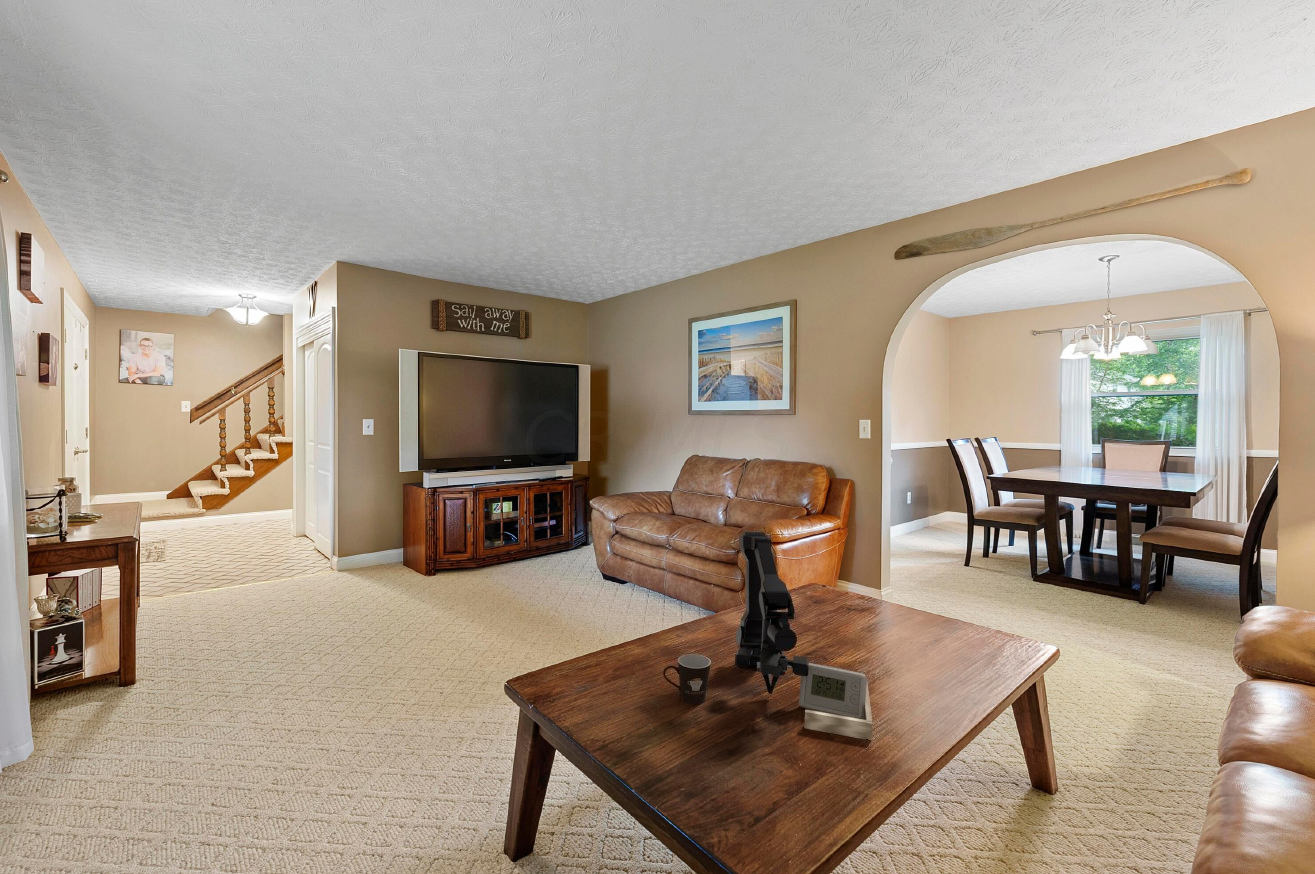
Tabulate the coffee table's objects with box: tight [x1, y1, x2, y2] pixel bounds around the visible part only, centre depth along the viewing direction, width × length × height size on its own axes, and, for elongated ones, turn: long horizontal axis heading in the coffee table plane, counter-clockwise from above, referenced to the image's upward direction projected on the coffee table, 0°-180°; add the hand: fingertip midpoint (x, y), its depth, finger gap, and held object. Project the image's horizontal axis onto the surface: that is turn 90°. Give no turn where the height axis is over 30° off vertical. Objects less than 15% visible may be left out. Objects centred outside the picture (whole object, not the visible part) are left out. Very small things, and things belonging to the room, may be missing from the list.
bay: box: [803, 682, 874, 741], centre depth 150 cm, size 15×23×4 cm, turn 164°
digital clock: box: [798, 662, 868, 720], centre depth 150 cm, size 16×9×11 cm, turn 56°
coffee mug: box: [662, 653, 712, 706], centre depth 154 cm, size 12×9×10 cm
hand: (770, 693), depth 155 cm, fingers closed
